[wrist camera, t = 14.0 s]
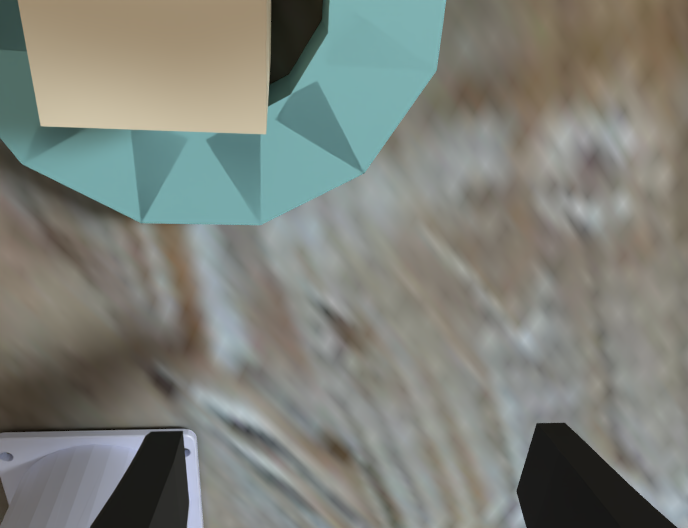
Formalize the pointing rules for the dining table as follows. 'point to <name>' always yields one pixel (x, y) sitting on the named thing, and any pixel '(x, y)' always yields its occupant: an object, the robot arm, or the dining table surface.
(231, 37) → the ash peg
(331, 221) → the dining table surface
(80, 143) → the bead ring
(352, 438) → the dining table surface
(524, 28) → the dining table surface
